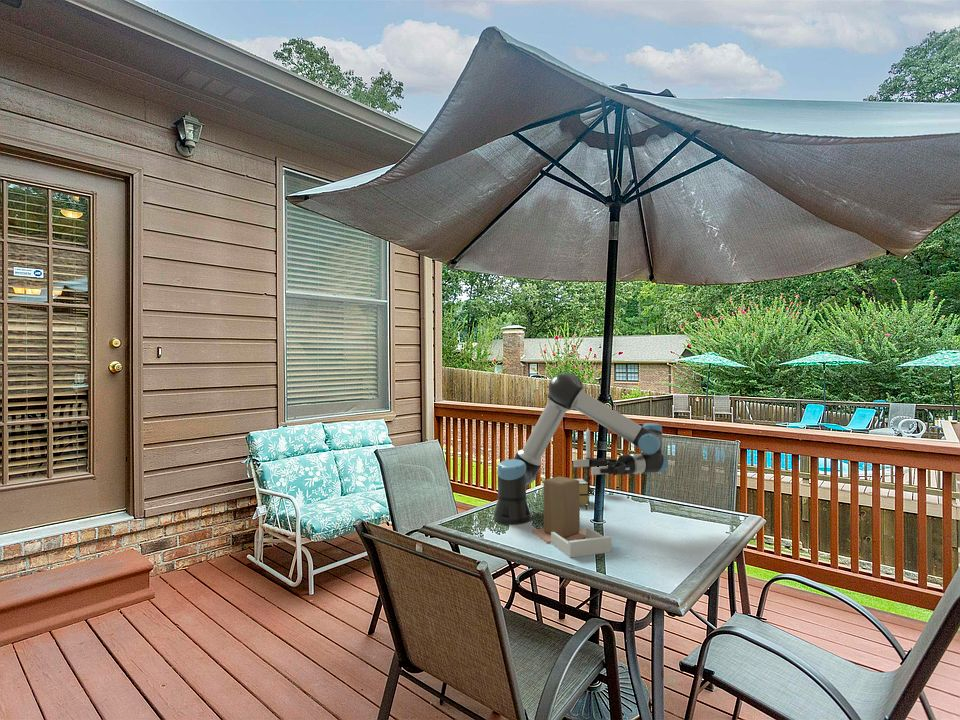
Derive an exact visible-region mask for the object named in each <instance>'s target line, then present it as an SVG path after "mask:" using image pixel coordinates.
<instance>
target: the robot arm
mask: <svg viewBox="0 0 960 720" xmlns="http://www.w3.org/2000/svg"><path fill="white" fill-rule="evenodd" d="M546 399H547V402H546V405H545V407H544V409H543V410H542V412H541V414H540V416H539V418H538V420H537V422H536V424H535V425H534V427H533V429H532V431H531V432H530V435H529V436H528V439H527V440H526V442H525V445H523V446H524V447H523V448H522V449H519V450H518V451H517V452H516V453H515V455H514V457H513V458H511V459H507V460H502V461H501V462H499V463H498V464H497V472H496V474H497V501H496V504H495V508H494V511H493V520H494V521H496V522H497V523H500V524H504V525H520V524H521V525H522V524H525V523H529V522H530V521H531V519H532V518H531V511H530V508H529V504H528V502H527V486H529V485H530V484H532V483H533V482H535V480H536V478H537V477H538V474H539V471H540V470H539V469H541V468H540V467H541V466H542V456H543V454H544V453H545V451H546V449H547V447H548V446H549V443H550V442H551V440H552V438H553V436H554V435H555V433H556V431H557V429H558V427H559V425H560V424H561V421H562V420H563V418H564V416H565V414H566V413H567V411H568V412H569V411H571V410H576V411H578V412H579V413H580V414H582V415H584V416H586V417H587V418H589V419H590V420H593V421H594V422H596V423H598V425H601V426H602V427H604V428H606V429H607V430H610V431H611V432H613V433H614V434H615V435H617V436H619V437H620V438H622V439H624V440H626V441H627V442H628V443H631V444H632V445H634V446H635V447H637V448H638V449H639V450H640V452H641V453H634V454H631V453H629V454H622V455H619V457H618V458H617V459H615V458H613V459H612V458H598V460H597V457H590V458H587V459H585V458H584V459H573V460H572V461H573V465H572V466H573V467H572V468H585V467H589V466H599V467H591V469H590V472H591V473H590V476H591V475H592V476H597V475H613V476H617V475H618V476H619V475H620V474H622V475H633V474H634V475H636V476H638V475H639V474H651V473H654V474H656V473H657V474H658V473H663V472H665V471H667V469H668V467H669V460H668V457H667V455H666V454H665V453H664V452H662V451H663V450H662V446H663V444H662V443H663V426H662V425H661V423H655V422H653V423H652V422H647V423H643V424H642V425H640V424H639V423H637V422H635V421H634V420H632V419H630V418H628V417H627V416H625V415H624V414H621V413H620V412H619V411H617V410H615V409H613V408H612V407H610V406H608V405H607V404H606V403H603V402H601V401H600V400H598V399H596V398H595V397H593V396H591V395H589V394H588V393H586V391H585V388H584V385H583V381H582V380H581V379H580V377H579V376H578V375H576V374H573V373H571V372H565V373H560V374H557V375H554V377H552V378H551V380H550V381H549V384H548V393H547V395H546ZM612 409H613V410H612ZM603 459H604V460H603ZM605 459H606V464H605Z"/></svg>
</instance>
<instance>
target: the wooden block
mask: <svg viewBox="0 0 960 720" xmlns="http://www.w3.org/2000/svg"><path fill="white" fill-rule="evenodd" d="M576 479H577V478H570V477H566V476H559V475H558V476H555V477H550V478H547V479H544V480H543V528H544V532H546V533H549V534H551V532H555V533H557V534H558V535H559V536H561V537H562V538H565V537H568V536H571V535H574V534H576V533H579V531H580V529H581V528H580V527H581V524H580V523H581V522H580V517H581V516H580V515H581V513H580V510H581V509H580V507H581V506H580V502H579V481H578V480H576Z"/></svg>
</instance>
